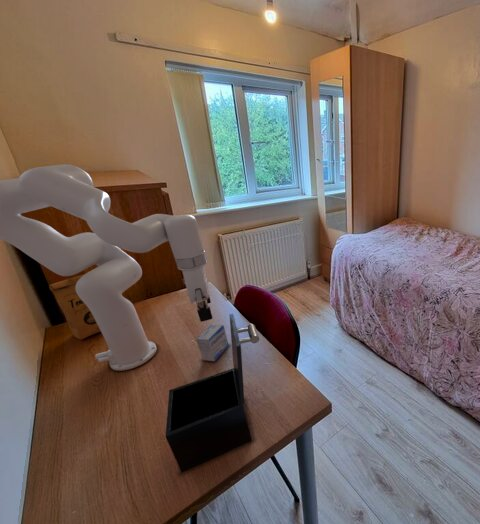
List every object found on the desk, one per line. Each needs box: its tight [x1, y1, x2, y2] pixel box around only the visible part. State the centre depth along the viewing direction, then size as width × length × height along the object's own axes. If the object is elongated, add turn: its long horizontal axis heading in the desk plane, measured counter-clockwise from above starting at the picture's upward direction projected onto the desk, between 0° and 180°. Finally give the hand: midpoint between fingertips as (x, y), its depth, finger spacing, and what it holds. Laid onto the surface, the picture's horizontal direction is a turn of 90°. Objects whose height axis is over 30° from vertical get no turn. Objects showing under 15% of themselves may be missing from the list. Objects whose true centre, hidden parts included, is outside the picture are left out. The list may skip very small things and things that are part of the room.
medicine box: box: [195, 323, 229, 362], centre depth 92 cm, size 8×4×9 cm, turn 168°
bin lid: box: [229, 312, 260, 405], centre depth 65 cm, size 15×13×5 cm
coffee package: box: [48, 273, 101, 340], centre depth 102 cm, size 10×12×22 cm
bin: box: [164, 367, 253, 474], centre depth 66 cm, size 15×13×12 cm
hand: (206, 311), depth 86 cm, fingers open, 9 cm apart
